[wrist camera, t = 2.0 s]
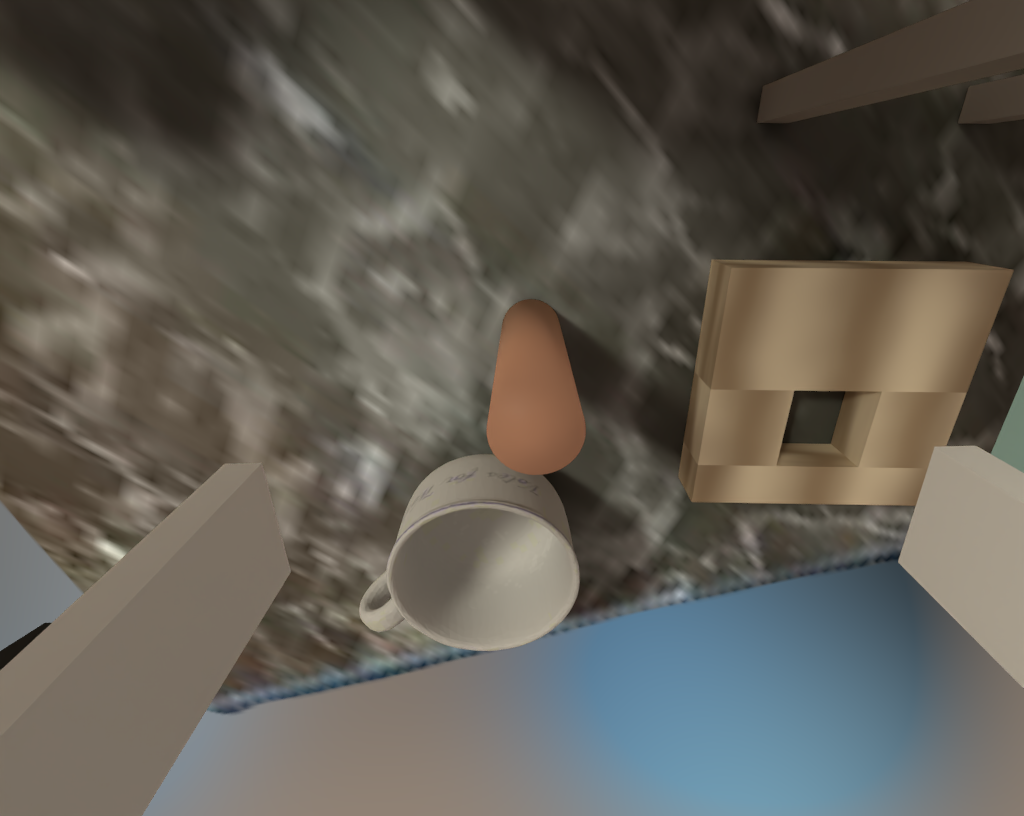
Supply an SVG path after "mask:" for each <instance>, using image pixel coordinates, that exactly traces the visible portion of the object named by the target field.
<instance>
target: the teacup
mask: <svg viewBox="0 0 1024 816" xmlns="http://www.w3.org/2000/svg"><path fill="white" fill-rule="evenodd" d="M579 585H580V574H579V563H578V560H577V556H576V554H575V551H574V549H573V543H572V538H571V533H570V528H569V524H568V520H567V516H566V513H565V510H564V506H563V504H562V502H561V500H560V498H559V496H558V494H557V492H556V491H555V489H554V487H553V486H552V485H551V483H550V482H549V481H548V480H547V479H546V478H545V477H544V476H543V475H528V474H523V473H520V472H517V471H514V470H512V469H510V468H508V467H507V466H505V465H504V464H503V463H501V462H500V461H499V460H498V459H497V457H496V456H495V455H494V454H476V455H469V456H465V457H461V458H458V459H455V460H453V461H450V462H448V463H446V464H444V465H442V466H441V467H439V468H437V469H436V470H435V471H433V472H432V473H431V474H430V475H428V476H427V477H426V478H425V479H424V480H423V481H422V483H421V484H420V485H419V487H418V488H417V489H416V491H415V492H414V494H413V496H412V498H411V500H410V502H409V504H408V506H407V509H406V512H405V514H404V517H403V520H402V523H401V526H400V530H399V533H398V537H397V540H396V543H395V545H394V547H393V549H392V551H391V553H390V556H389V560H388V564H387V571H385V572H384V573H383V574H382V575H381V576H380V577H379V578H378V579H377V580H376V581H375V582H374V583H373V584H372V585H371V586H370V587H369V589H368V590H367V591H366V593H365V594H364V596H363V598H362V600H361V603H360V609H359V613H360V617H361V619H362V621H363V622H364V624H365V625H366V626H368V627H369V628H370V629H372V630H374V631H377V632H382V631H387V630H389V629H392V628H394V627H395V626H396V625H398V624H399V623H400V622H402V621H403V620H404V619H406V620H407V621H408V622H409V623H410V624H411V625H412V626H413V627H414V628H416V629H417V630H419V631H420V632H421V633H423V634H425V635H427V636H428V637H430V638H432V639H434V640H436V641H438V642H440V643H442V644H445V645H448V646H452V647H456V648H461V649H468V650H477V651H494V650H502V649H510V648H514V647H518V646H522V645H524V644H527V643H530V642H532V641H534V640H537V639H539V638H540V637H542V636H544V635H545V634H547V633H548V632H550V631H551V630H552V629H554V628H555V627H556V626H557V625H558V624H559V623H560V622H561V621H562V620H563V619H564V618H565V617H566V616H567V614H568V613H569V612H570V610H571V608H572V607H573V605H574V603H575V600H576V598H577V595H578V591H579ZM390 596H391V597H392V598H391V599H390V600H389V601H388V602H387V603H386V601H387V600H388V599H389V597H390ZM385 603H386V604H385ZM384 604H385V605H384Z"/></svg>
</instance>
